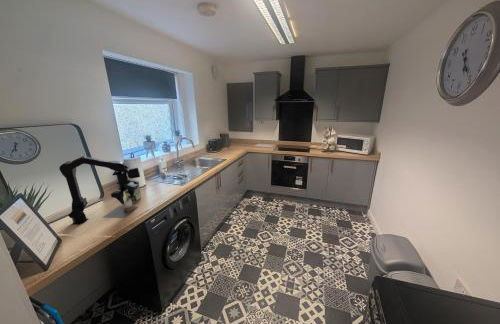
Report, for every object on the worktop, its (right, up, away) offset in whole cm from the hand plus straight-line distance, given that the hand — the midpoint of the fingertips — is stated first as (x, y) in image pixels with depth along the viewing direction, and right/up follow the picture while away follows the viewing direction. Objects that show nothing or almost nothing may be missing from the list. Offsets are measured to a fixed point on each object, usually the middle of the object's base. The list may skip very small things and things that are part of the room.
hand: (128, 200), depth 131 cm
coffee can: (-6, -3, +18) cm, 20 cm away
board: (-4, -8, 0) cm, 9 cm away
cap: (0, -4, +1) cm, 5 cm away
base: (0, -7, +2) cm, 7 cm away
